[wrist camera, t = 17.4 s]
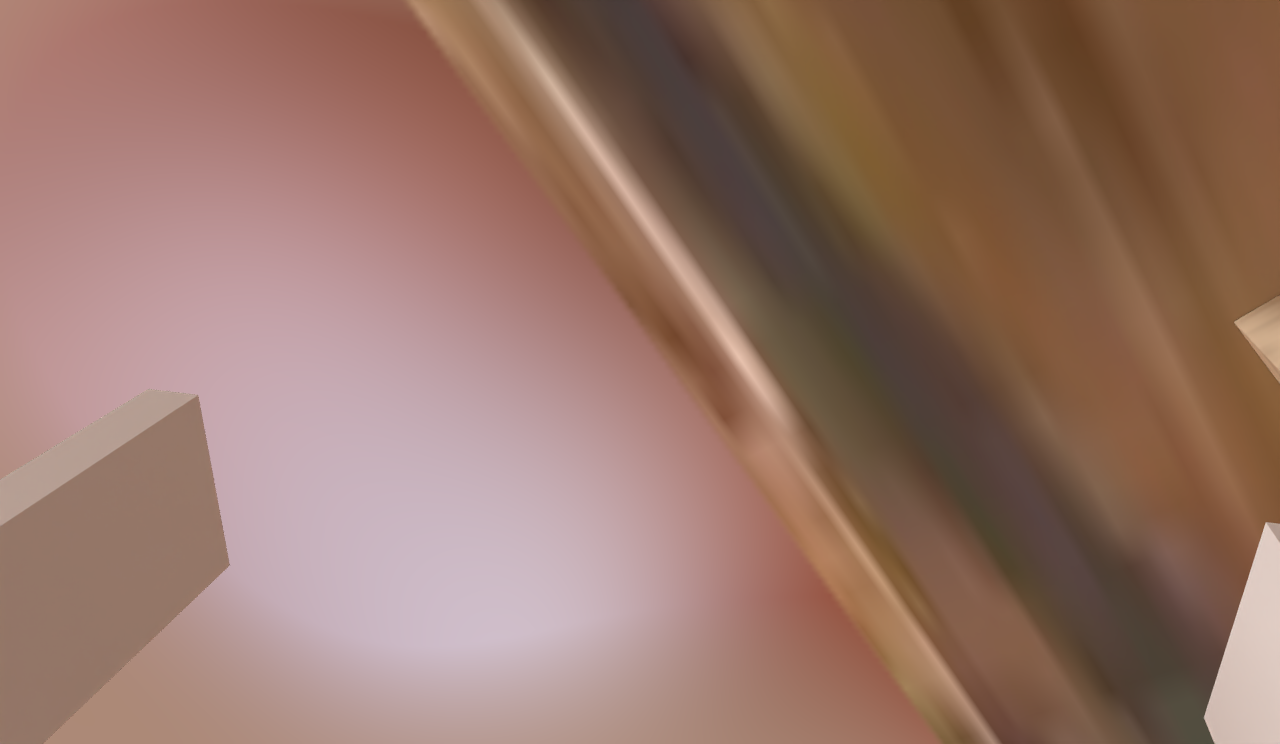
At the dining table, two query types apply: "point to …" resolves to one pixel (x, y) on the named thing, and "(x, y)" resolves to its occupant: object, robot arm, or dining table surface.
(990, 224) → the dining table surface
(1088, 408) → the dining table surface
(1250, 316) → the tray
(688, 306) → the dining table surface
